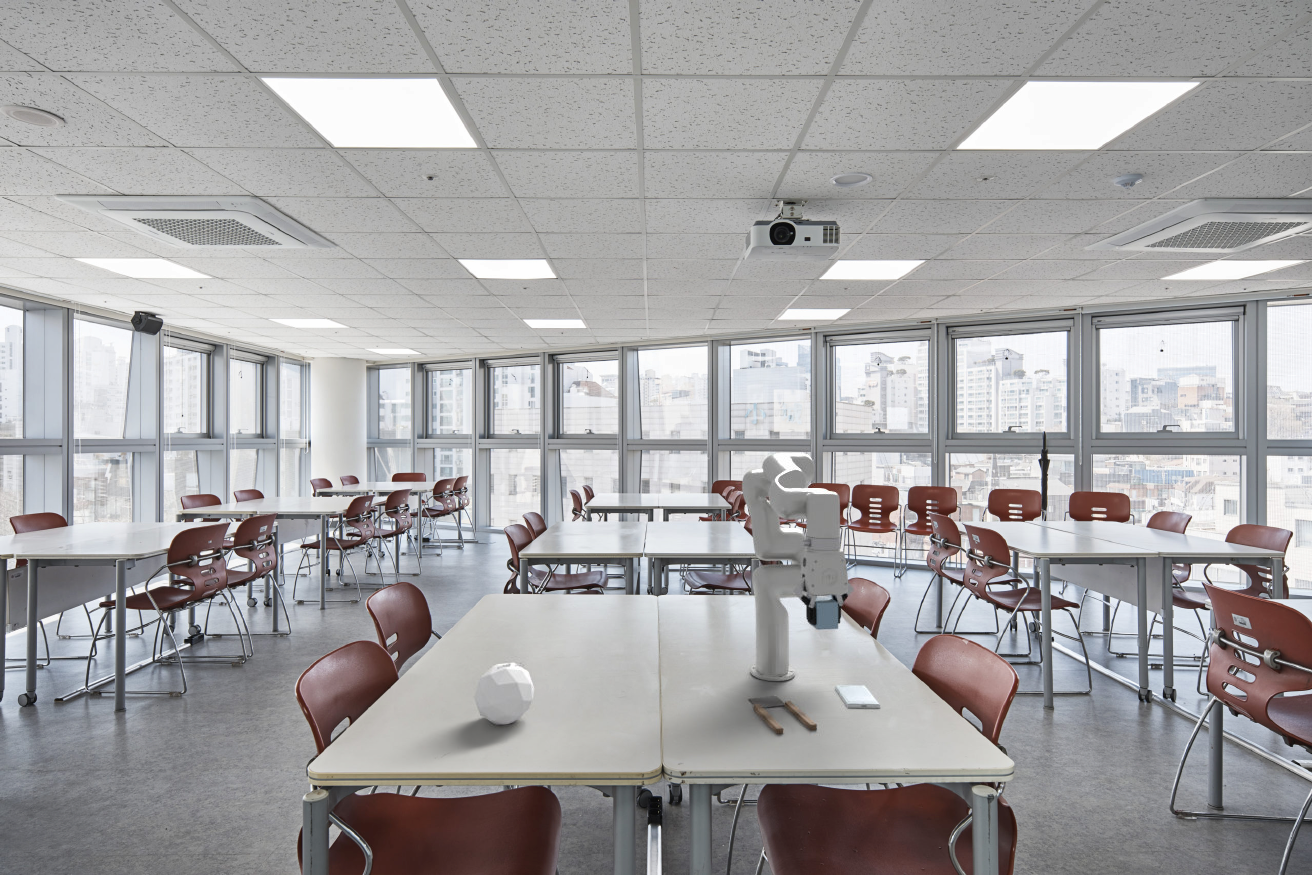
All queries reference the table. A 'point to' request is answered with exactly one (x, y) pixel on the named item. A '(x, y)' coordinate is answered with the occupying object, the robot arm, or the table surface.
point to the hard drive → (857, 696)
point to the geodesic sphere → (504, 693)
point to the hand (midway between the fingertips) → (823, 621)
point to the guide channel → (777, 702)
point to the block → (826, 613)
